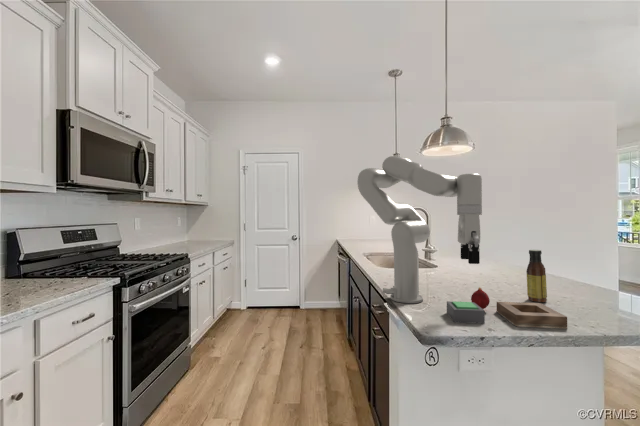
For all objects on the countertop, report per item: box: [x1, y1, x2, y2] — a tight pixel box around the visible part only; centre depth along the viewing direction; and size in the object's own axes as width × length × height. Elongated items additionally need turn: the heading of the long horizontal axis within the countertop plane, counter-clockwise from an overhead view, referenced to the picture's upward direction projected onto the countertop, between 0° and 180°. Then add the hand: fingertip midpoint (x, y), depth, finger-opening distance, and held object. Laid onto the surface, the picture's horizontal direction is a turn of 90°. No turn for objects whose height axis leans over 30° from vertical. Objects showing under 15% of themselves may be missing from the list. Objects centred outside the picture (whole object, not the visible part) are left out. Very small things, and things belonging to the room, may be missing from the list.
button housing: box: [446, 300, 486, 324], centre depth 100 cm, size 9×9×4 cm
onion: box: [470, 287, 491, 310], centre depth 108 cm, size 6×6×8 cm
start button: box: [451, 300, 478, 309], centre depth 100 cm, size 6×6×3 cm
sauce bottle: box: [526, 249, 548, 303], centre depth 119 cm, size 7×6×20 cm
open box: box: [496, 301, 568, 330], centre depth 99 cm, size 14×14×4 cm
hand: (469, 261), depth 103 cm, fingers open, 9 cm apart
